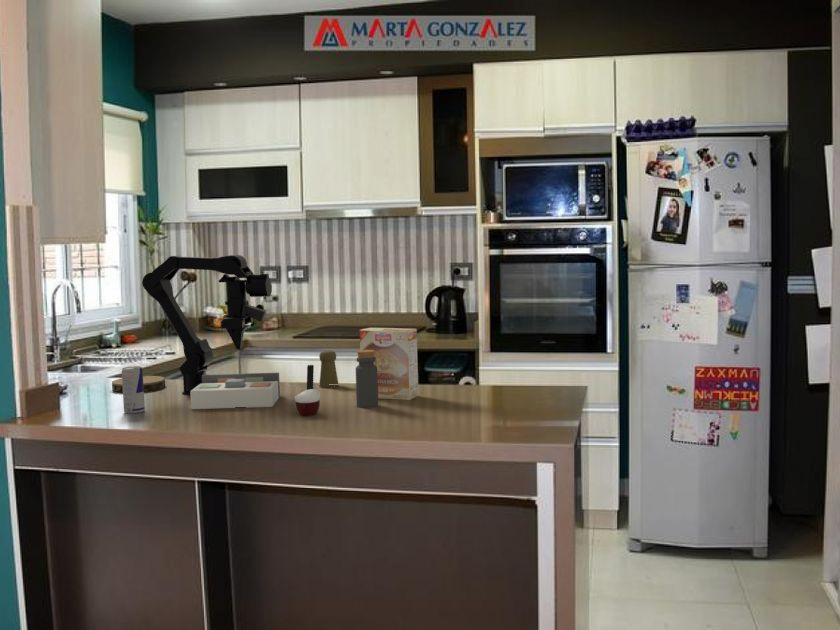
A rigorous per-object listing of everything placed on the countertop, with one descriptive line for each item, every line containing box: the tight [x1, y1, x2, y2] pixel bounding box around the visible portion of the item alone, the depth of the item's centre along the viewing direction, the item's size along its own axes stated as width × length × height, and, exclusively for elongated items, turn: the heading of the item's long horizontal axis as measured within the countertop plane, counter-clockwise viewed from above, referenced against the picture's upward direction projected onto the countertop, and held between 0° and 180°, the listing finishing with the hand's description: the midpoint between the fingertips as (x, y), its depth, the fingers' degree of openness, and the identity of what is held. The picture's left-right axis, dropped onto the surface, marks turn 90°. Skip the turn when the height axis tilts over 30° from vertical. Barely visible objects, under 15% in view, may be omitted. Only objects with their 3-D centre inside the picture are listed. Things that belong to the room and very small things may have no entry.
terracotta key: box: [251, 383, 270, 387], centre depth 233 cm, size 5×5×4 cm
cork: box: [318, 349, 339, 389], centre depth 257 cm, size 6×6×11 cm
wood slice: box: [111, 375, 166, 394], centre depth 262 cm, size 16×16×3 cm
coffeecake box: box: [359, 327, 419, 401], centre depth 236 cm, size 15×7×20 cm, turn 68°
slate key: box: [225, 379, 245, 388], centre depth 233 cm, size 5×5×4 cm
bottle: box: [355, 349, 379, 409], centre depth 224 cm, size 6×6×15 cm
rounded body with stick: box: [294, 364, 321, 417], centre depth 216 cm, size 10×6×12 cm, turn 153°
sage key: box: [200, 384, 220, 389], centre depth 233 cm, size 5×5×4 cm
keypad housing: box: [190, 372, 281, 410], centre depth 234 cm, size 22×15×7 cm
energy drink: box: [121, 365, 146, 415], centre depth 225 cm, size 5×5×12 cm
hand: (238, 349), depth 250 cm, fingers closed
